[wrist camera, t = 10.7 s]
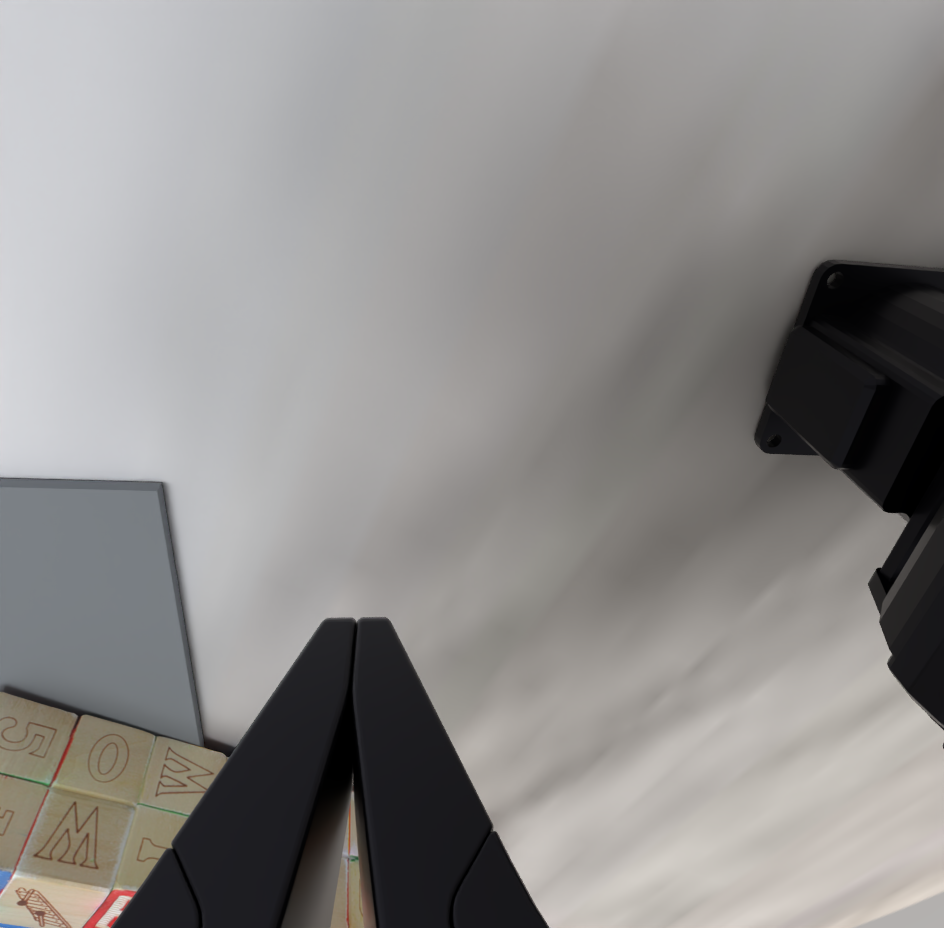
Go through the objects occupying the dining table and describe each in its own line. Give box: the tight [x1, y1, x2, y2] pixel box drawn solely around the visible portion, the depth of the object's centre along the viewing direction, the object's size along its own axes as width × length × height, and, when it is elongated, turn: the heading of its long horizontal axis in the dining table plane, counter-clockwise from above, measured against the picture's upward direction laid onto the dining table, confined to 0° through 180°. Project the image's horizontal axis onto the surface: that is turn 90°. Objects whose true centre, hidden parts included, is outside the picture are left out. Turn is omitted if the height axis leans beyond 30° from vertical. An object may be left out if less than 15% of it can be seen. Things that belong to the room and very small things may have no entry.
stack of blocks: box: [0, 692, 364, 928], centre depth 29 cm, size 21×6×12 cm
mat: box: [0, 478, 205, 748], centre depth 27 cm, size 12×23×1 cm, turn 174°
